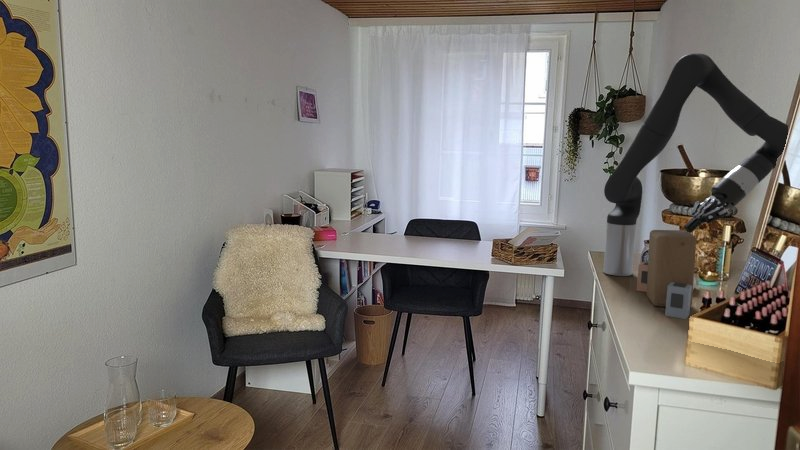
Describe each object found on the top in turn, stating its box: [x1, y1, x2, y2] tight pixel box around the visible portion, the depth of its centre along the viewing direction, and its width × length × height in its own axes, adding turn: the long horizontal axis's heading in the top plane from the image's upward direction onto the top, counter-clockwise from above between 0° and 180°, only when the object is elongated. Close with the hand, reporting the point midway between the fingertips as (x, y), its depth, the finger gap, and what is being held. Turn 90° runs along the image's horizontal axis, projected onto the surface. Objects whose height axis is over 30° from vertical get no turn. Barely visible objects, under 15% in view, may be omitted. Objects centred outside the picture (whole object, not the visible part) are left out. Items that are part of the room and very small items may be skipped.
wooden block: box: [646, 229, 697, 308], centre depth 160 cm, size 10×10×20 cm
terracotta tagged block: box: [636, 261, 648, 293], centre depth 174 cm, size 5×5×8 cm
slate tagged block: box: [664, 282, 692, 320], centre depth 150 cm, size 5×5×8 cm
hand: (687, 230), depth 159 cm, fingers closed
